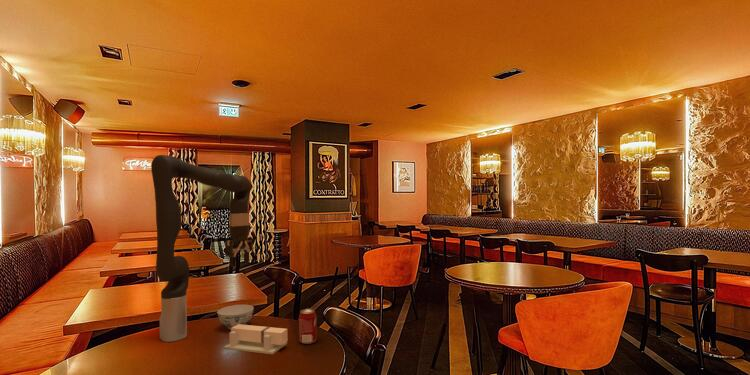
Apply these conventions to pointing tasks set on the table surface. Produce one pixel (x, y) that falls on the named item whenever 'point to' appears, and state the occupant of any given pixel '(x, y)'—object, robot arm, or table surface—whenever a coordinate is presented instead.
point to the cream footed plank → (253, 345)
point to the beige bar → (260, 333)
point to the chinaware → (235, 315)
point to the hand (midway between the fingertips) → (239, 264)
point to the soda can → (307, 326)
